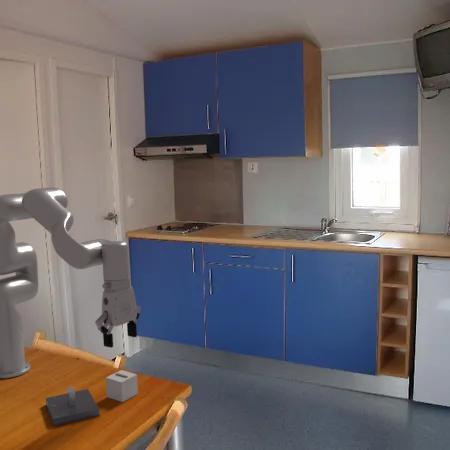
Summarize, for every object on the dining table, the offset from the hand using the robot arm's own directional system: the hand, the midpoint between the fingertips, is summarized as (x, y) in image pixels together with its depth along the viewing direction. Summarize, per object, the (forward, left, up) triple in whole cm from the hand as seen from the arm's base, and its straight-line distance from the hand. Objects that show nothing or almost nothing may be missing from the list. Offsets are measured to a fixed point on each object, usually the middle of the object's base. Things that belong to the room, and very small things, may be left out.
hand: (120, 341), depth 152 cm
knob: (0, 0, -17) cm, 17 cm away
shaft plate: (+2, -15, -17) cm, 23 cm away
